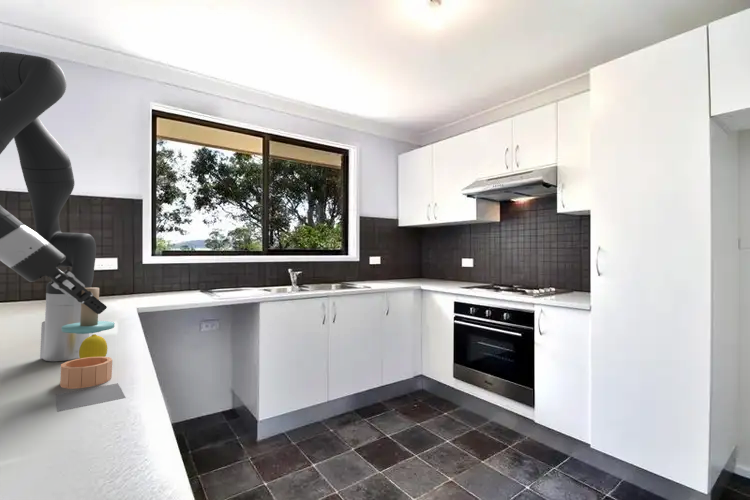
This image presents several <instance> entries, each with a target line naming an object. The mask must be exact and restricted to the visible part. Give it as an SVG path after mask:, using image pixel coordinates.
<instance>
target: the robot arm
mask: <svg viewBox="0 0 750 500" xmlns="http://www.w3.org/2000/svg"><path fill="white" fill-rule="evenodd" d="M66 90H67V78H66V76H65V73H64V71H63V69H62V68H61V67H60V65H59V64H57V62H55V61H54V60H52V59H49V58H47V57H42V56H38V55H31V54H25V53H18V52H17V53H16V52H12V51H11V52H9V51H0V155H1V154H2V153H3V152H4V150H5V149H6V148H7V147H8V146H9V144H10V143H11V141H12V140H13V139H14V144H15V145H16V146H15V147H16V150H17V155H18V158H19V164H20V169H21V172H22V175H23V176H22V177H23V180H24V183H25V186H26V189H27V192H28V197H29V200H30V206H31V208H32V214H33V218H34V220H33V221H34V227H35V230H33V229H32V228H30V227H29V226H27V224H24V223H23V222H22V221H21V220H20V219H18V218H17V217H16V216H15V215H13V214H12V213H11V212H9V211H8V210H7V209H5V208H4V207H3V206H2V205H1V204H0V262H2V263H3V264H4V265H5V266H6V267H8V268H10V269H11V270H13V271H14V272H15V273H16V274H17V275H19V276H21V277H22V278H24V279H25V280H26V281H28V282H29V283H35V282H36V281H39V280H40V279H42V278H43V277H47V278H49V279H50V281H49V282H48V283H47V284H46V289H45V290H46V291H45V292H46V293H45V312H44V313H45V314H44V315H45V318H44V321H43V322H41V327H40V329H41V332H40V348H39V349H40V350H39V351H40V353H39V359H42V360H43V361H44V362H63V361H65V362H67V361H71V360H75V359H79V358H80V357H79V349H80V346H81V344H82V342H83V341H84V340H85V339H86V338H88V337H90V333H88V334H76V333H65V332H62V326H64V325H68V324H73V323H80V318H81V303H83V304H85V305H86V306H87V307H89V308H90V309H91V310H93V311H94V312H95V313H97V314H98V315H100V314H102V313H103V312H104V311H106V309H107V307H108V306H106V304H104V303H103V302H102V301H100V299H99V300H98V299H97V298H95V297H94V296H93V295H92V293H91V292H90V291H88V290H86V289H85V288H93V287H92V285H93V283H94V282H93V281H94V275H95V265H96V256H97V255H96V254H97V244H96V240H95V238H94V237H93V235H91V234H90V233H84V232H67V231H66V232H62V230H61V227H60V214H61V212H62V209H63V208H64V206H65V204H66V203H67V202H68V201H67V200H68V199H69V198H70V196H71V194H72V193H73V190H74V189H75V178H74V173H73V168H72V162H71V159H70V157H69V155H68V153H67V152H66V151H65V148H63V146H62V145H61V144H60V143H59V142H58V140H57V139H56V138H55V137H54V136H53V135H52V133H51V132H50V131H49V130H48V129H47V127H46V125H44V123H43V122H42V120H41V117H40V116H41V115H42V114H44V113H45V112H46V111H47V110H49V109H50V108H51V107H52V106H54V105H55V104H57V102H58V101H60V100H61V99H62V97H63V96H64V95H65V93H66ZM59 267H60V268H71V269H70V271H69V270H68V269H65V270H64V271H62V270H61V269H60V268H59ZM82 290H83V291H85V292H84V293H83V294H82Z"/></svg>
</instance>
